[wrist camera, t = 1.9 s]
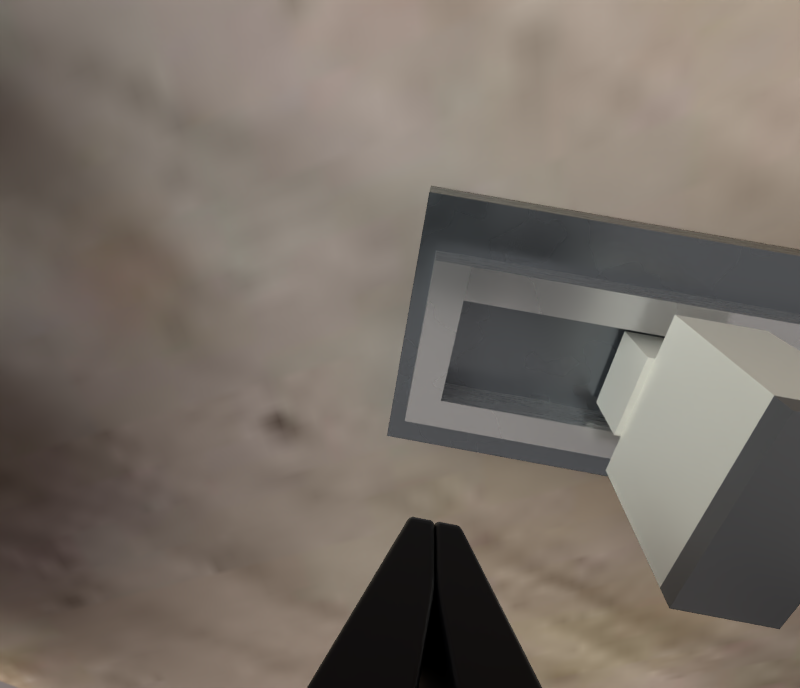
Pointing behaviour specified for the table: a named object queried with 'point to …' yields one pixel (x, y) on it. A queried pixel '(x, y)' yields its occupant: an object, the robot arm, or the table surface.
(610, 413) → the fader tab
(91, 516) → the table surface
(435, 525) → the robot arm
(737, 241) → the console
